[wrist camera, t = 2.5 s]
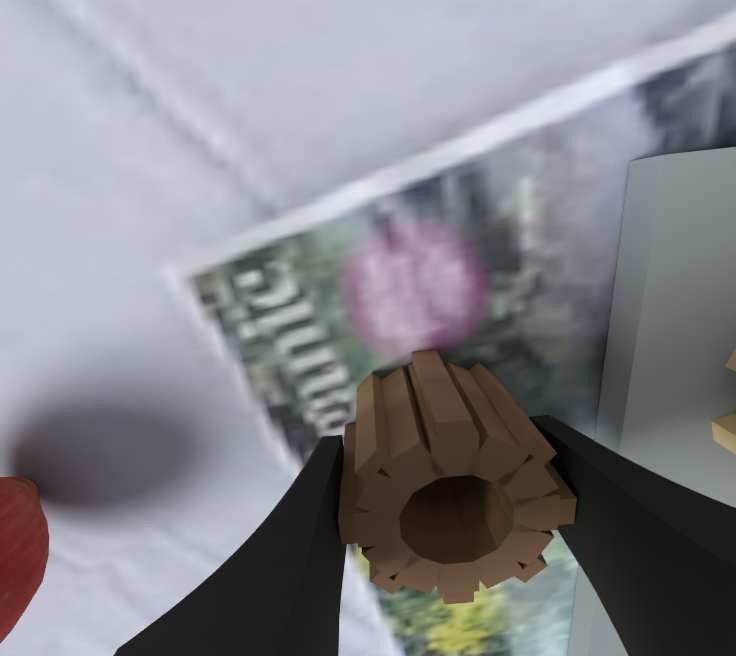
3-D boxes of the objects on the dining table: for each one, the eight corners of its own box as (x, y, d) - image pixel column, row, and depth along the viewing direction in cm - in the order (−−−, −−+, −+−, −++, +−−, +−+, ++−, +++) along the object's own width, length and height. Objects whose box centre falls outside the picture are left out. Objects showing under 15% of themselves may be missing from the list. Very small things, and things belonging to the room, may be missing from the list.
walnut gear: (507, 484, 13) (565, 593, 9) (355, 498, 13) (353, 612, 10) (512, 342, 11) (587, 408, 8) (336, 360, 12) (323, 433, 8)
